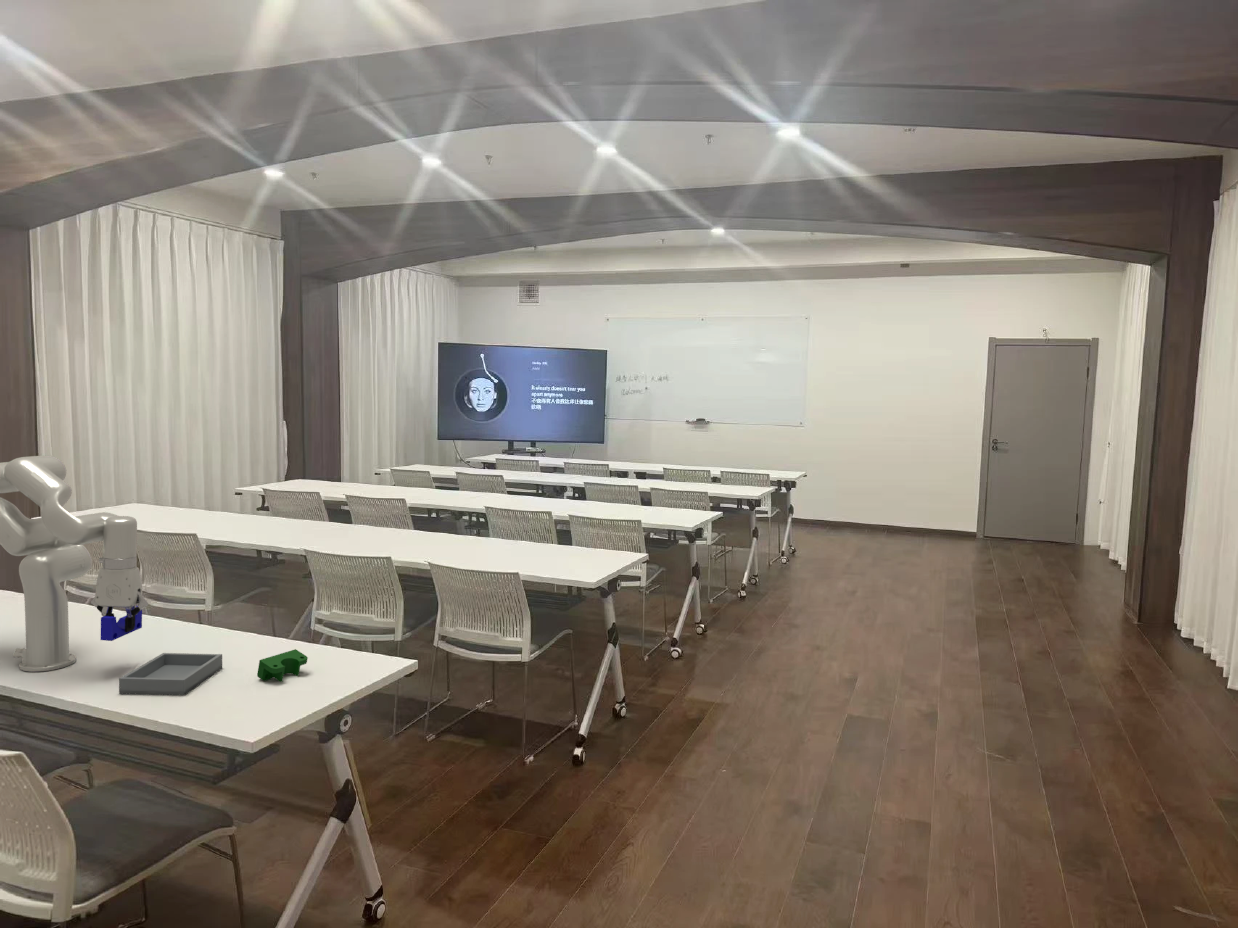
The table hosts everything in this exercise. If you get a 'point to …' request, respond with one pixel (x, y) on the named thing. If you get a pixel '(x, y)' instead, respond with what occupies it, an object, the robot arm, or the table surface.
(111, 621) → the blue long angular piece
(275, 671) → the clamp
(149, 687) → the gray tray
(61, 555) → the robot arm
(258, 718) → the table surface
